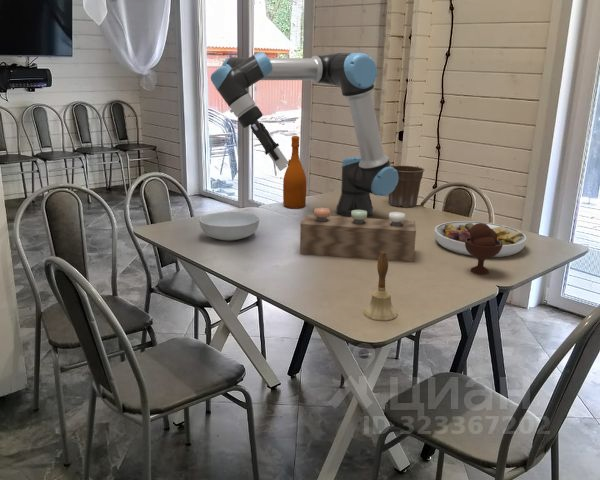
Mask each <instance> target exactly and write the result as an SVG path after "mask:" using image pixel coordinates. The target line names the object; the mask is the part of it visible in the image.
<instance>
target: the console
mask: <svg viewBox="0 0 600 480" xmlns="http://www.w3.org/2000/svg"><path fill="white" fill-rule="evenodd" d="M416 229H417V227H416V221H415V220H406V219H405V221H403V222H401V227H400V226H392V221H390V220H389V218H388V219H384V218H371V217H370V218H369V217H367V219H364V224H354V219H353V218H351V217H350V216H337V215H336V216H334V215H330V216H329V217H327V222H319V221H317V217H316V216H314V214H306V215H304V218H303V219H302V221H301V223H300V231H299V232H300V233H299V234H300V237H299V239H300V241H299V242H300V243H299V244H300V246H299V252H300V253H299V254H300V255H312V256H313V255H315V256H326V257H327V256H329V257H338V258H339V257H340V258H341V257H343V258H355V259H356V258H357V259H371V260H372V259H373V260H378V259H379V257H380V254H381V252H386V255H387V259H388V261H395V262H396V261H398V262H399V261H400V262H412V263H413V262H414V261H415V260H414V259H415V247H416V246H415V245H416V236H417V230H416Z"/></svg>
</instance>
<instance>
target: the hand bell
mask: <svg viewBox="0 0 600 480" xmlns="http://www.w3.org/2000/svg"><path fill="white" fill-rule="evenodd" d="M376 267H377V273H378V285H377V288H378V289H377V290H374V291H373V292H372V294H371V298H370V302H369V305H368V306H367V307H366V308H364V310H363V314H364V315H363V316H364V317H366V318H368V319H371V320H373V321H379V322H380V321H383V322H384V321H391V320H394V319H396V318H397V317H398V312H397V309H395V308H394V307H393V304H392V299H391V293H390V292H389V291H387V290H386V276H387V274H388V269H389V260H388V259H387V255H386V252H381V254H380V257H379V259H377V265H376Z"/></svg>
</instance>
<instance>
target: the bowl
mask: <svg viewBox="0 0 600 480" xmlns="http://www.w3.org/2000/svg"><path fill="white" fill-rule="evenodd" d="M478 223H483V224H487V225H488V226H489V227H490V228H491V229H493V230H494V231H495V232H496V233H497V240H499V241H502V244H503V246H502V248H501V250H500V252H499V253H498V254H497V255H495V256H494V257H493V258H505V257H510V256H513V255H516V254H518V253H519V252H521V251H522V250H523V249H524V248H525V246H526V243H527V235H526V234H525V233H524V232H522V231H520V230H519V229H516V228H513V227H509V226H507V225H502V224H498V223H493V222H492V223H491V222H486V221H476V220H475V221H473V220H458V221H457V220H456V221H455V220H454V221H447V222H442V223H440V224H438V225H436V226H435V227H434V238H435V239H436V242H437V243H438V244H439V245H440V246H441V247H443V248H445V249H446V250H448V251H451V252H454V253H458V254H461V255H464V256H471V257H473V256H472V255H471V254H470V253H469V252H468V251H467V250H466V247H465V238H467V237H470V233H469V231H470V229H471V227H472V226H474V225H475V224H478Z"/></svg>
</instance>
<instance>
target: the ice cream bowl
mask: <svg viewBox="0 0 600 480" xmlns="http://www.w3.org/2000/svg"><path fill="white" fill-rule="evenodd" d="M469 233H470V237H467V238H465V247H466V250H467V251H468V252H469V253H470V254H471V255H472V256H471V257H473V258H476V259H477V265H475V266H472V267H471V268H470V272H471V273H473V274H475V275H479V276H480V275H481V276H483V275H484V276H486V275H488V274H490V271H489V269H488V268H487V267H486V266H485V265H484V264H485V263H484V262H485V260H489V259H491V258H495V257H494V256H495V255H497V254H498V253H499V252H500V250H501V248H502V246H503V244H502V241H499V240H497V233H496V232H495V231H494V230H493V229H491V228H490V227H489V226H488V225H487V224H483V223H478V224H475V225H474V226H472V227H471V229H470V231H469Z"/></svg>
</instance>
